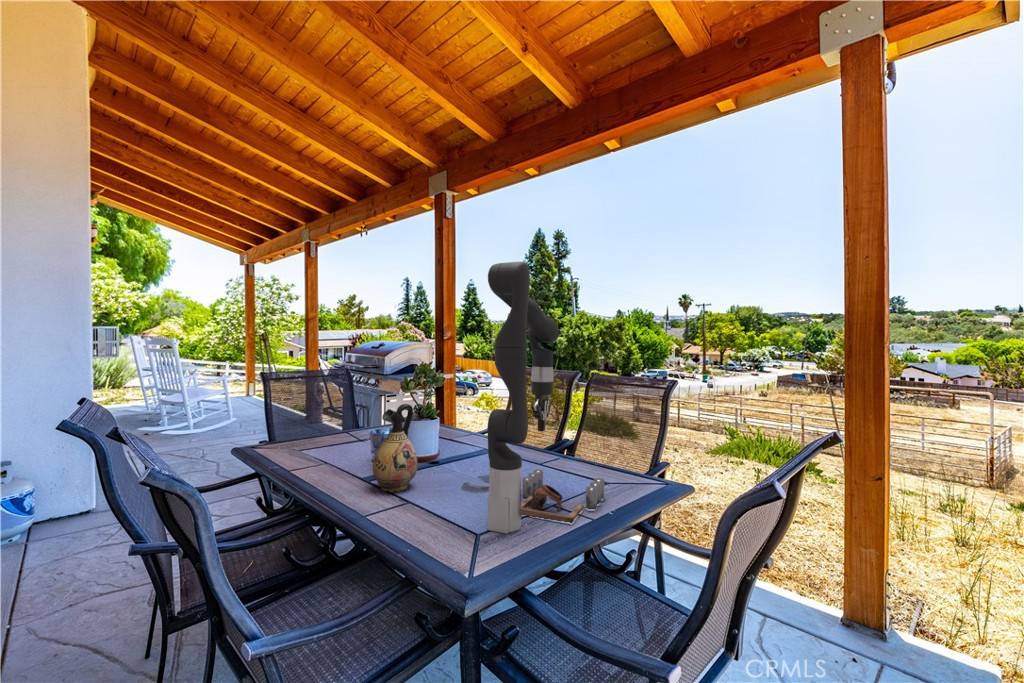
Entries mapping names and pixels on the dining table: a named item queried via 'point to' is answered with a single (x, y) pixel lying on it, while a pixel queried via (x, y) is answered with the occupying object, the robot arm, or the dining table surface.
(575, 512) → the walnut frame
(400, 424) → the ceramic jug
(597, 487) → the metal posts
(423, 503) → the dining table surface
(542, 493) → the pottery mug
